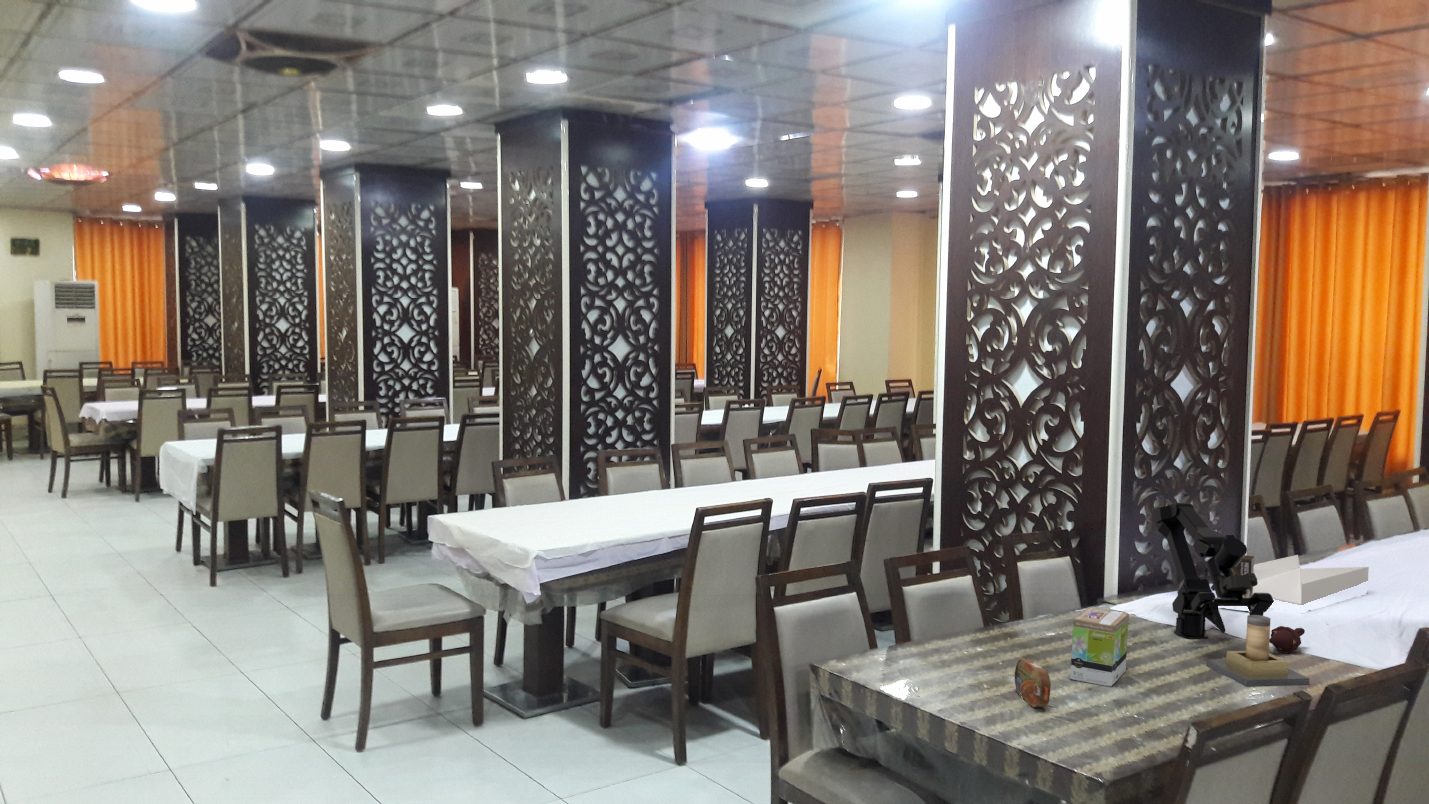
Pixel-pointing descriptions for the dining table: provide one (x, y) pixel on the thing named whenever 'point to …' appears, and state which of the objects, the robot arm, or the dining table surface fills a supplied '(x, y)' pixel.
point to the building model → (1304, 580)
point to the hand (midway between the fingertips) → (1242, 632)
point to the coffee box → (1245, 571)
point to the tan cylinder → (1258, 638)
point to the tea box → (1099, 646)
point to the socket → (1257, 670)
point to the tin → (1032, 683)
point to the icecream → (1286, 638)
